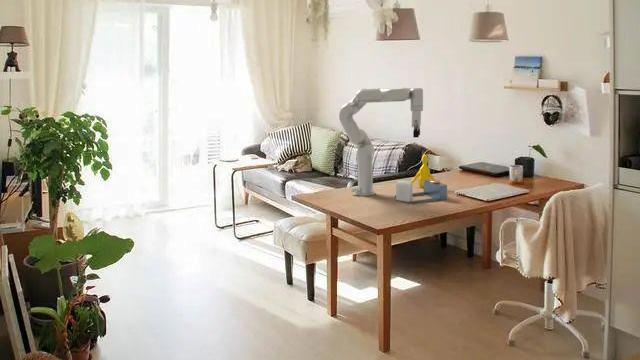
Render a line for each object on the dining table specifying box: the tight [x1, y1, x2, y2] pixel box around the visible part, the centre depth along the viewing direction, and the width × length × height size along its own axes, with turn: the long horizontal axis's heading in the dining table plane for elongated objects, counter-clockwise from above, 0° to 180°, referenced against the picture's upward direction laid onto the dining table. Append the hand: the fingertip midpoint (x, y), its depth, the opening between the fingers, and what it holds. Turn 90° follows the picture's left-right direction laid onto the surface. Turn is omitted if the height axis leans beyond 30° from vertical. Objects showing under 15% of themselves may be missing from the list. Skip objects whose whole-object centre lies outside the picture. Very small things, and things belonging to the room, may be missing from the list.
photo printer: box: [395, 180, 413, 203], centre depth 352 cm, size 10×4×12 cm, turn 57°
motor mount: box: [394, 179, 448, 205], centre depth 356 cm, size 26×19×10 cm
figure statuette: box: [410, 154, 437, 188], centre depth 387 cm, size 18×8×22 cm, turn 93°
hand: (416, 136), depth 359 cm, fingers open, 9 cm apart
